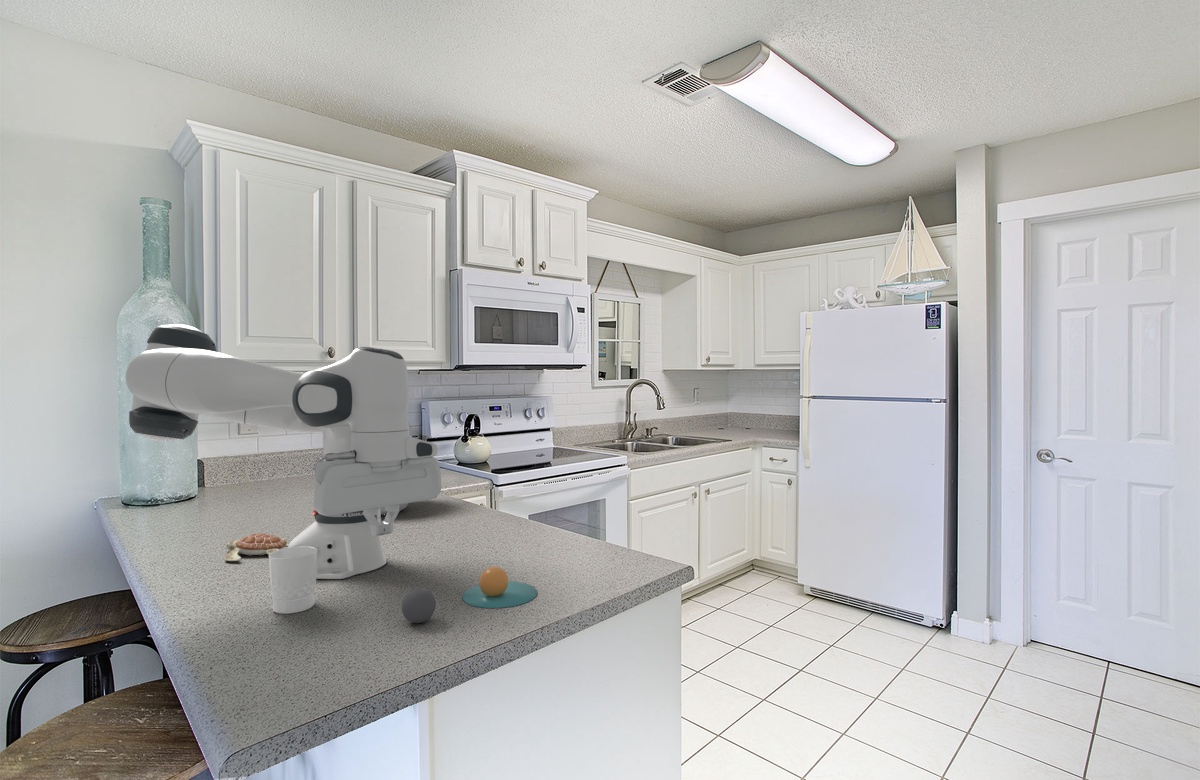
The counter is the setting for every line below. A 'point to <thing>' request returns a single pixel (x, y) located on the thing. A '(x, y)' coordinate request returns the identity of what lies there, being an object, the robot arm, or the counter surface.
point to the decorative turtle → (254, 546)
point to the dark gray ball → (418, 606)
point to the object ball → (493, 581)
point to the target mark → (501, 596)
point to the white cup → (293, 578)
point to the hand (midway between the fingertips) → (381, 534)
